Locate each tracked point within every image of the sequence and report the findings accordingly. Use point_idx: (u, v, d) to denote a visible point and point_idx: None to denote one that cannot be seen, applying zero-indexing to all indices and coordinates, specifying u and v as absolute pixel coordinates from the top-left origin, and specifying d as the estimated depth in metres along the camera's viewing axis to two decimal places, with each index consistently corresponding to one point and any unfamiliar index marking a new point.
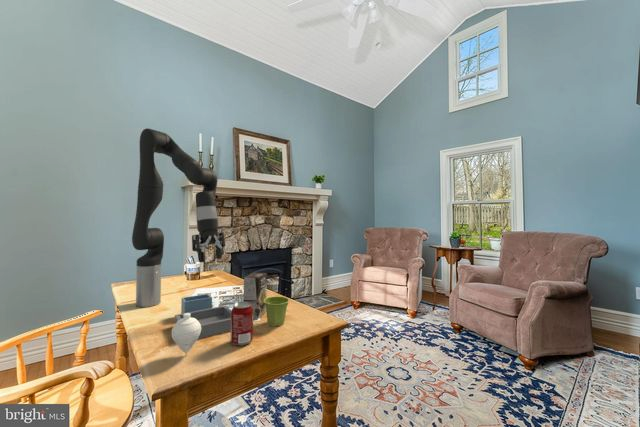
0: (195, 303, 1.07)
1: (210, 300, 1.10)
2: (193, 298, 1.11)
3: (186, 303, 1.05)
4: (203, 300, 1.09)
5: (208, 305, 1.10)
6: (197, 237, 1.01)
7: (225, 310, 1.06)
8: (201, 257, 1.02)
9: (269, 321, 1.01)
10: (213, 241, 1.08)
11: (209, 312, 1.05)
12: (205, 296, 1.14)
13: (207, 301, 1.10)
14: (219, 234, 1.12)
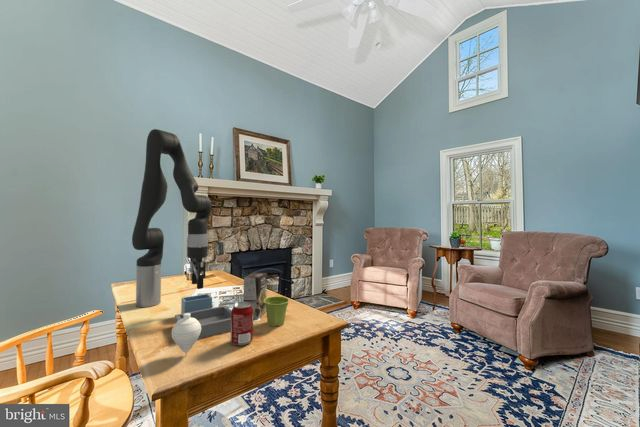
0: (195, 303, 1.07)
1: (210, 300, 1.10)
2: (193, 298, 1.11)
3: (186, 303, 1.05)
4: (203, 300, 1.09)
5: (208, 305, 1.10)
6: None
7: (225, 310, 1.06)
8: None
9: (269, 321, 1.01)
10: None
11: (209, 312, 1.05)
12: (205, 296, 1.14)
13: (207, 301, 1.10)
14: None
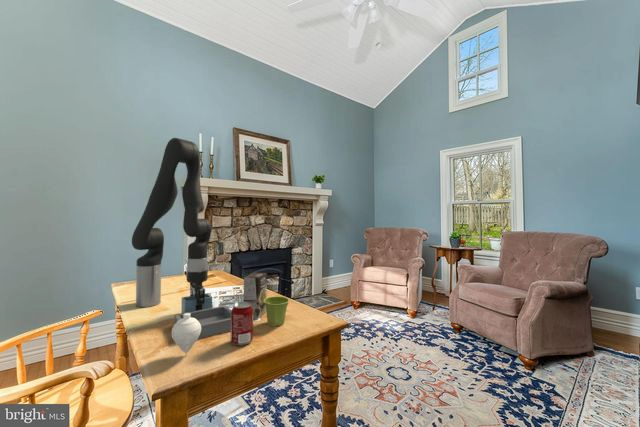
0: (195, 303, 1.07)
1: (210, 300, 1.10)
2: (193, 298, 1.12)
3: (186, 303, 1.05)
4: None
5: (208, 305, 1.10)
6: (204, 291, 1.06)
7: (225, 310, 1.06)
8: None
9: (269, 321, 1.01)
10: None
11: (209, 312, 1.05)
12: (205, 296, 1.14)
13: (207, 301, 1.10)
14: None
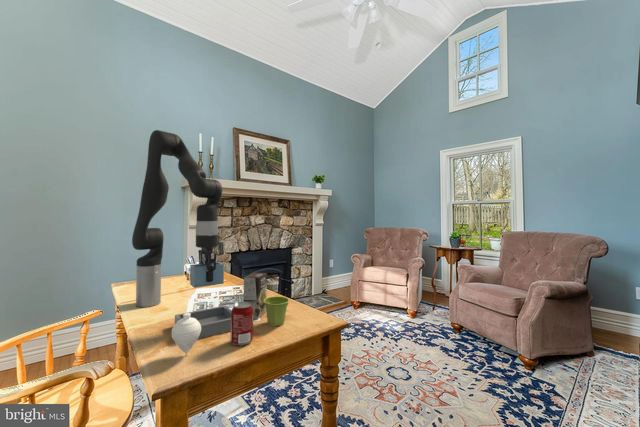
0: (205, 269, 0.97)
1: (221, 267, 1.01)
2: (203, 266, 1.02)
3: (196, 269, 0.95)
4: None
5: (219, 272, 1.00)
6: (215, 256, 0.96)
7: (225, 310, 1.06)
8: None
9: (269, 321, 1.01)
10: None
11: (209, 312, 1.05)
12: None
13: (218, 268, 1.00)
14: None
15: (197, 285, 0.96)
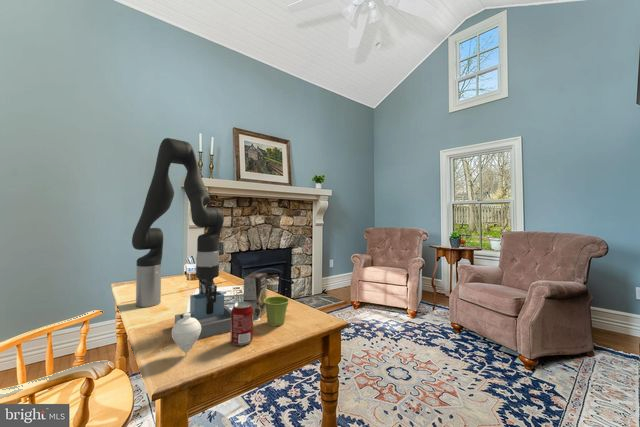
0: None
1: (222, 298, 0.99)
2: (203, 296, 1.00)
3: (196, 301, 0.93)
4: None
5: (220, 303, 0.98)
6: None
7: (225, 310, 1.06)
8: None
9: (269, 321, 1.01)
10: None
11: None
12: (216, 294, 1.03)
13: (219, 299, 0.98)
14: None
15: (197, 318, 0.94)
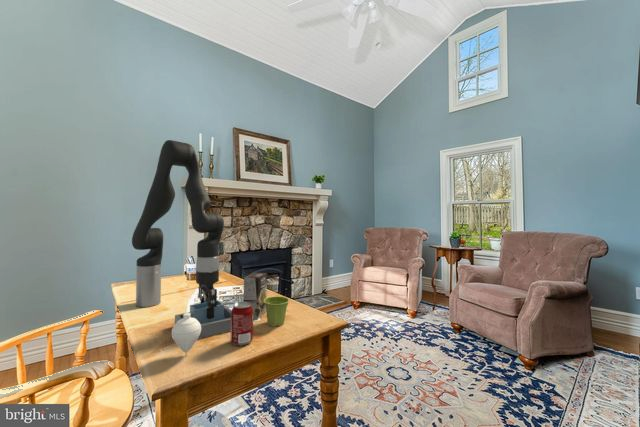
0: (206, 311, 0.95)
1: (222, 307, 0.99)
2: (203, 305, 1.00)
3: (196, 311, 0.93)
4: (214, 308, 0.97)
5: (220, 313, 0.98)
6: None
7: (225, 310, 1.06)
8: None
9: (269, 321, 1.01)
10: None
11: None
12: None
13: (219, 309, 0.98)
14: None
15: None
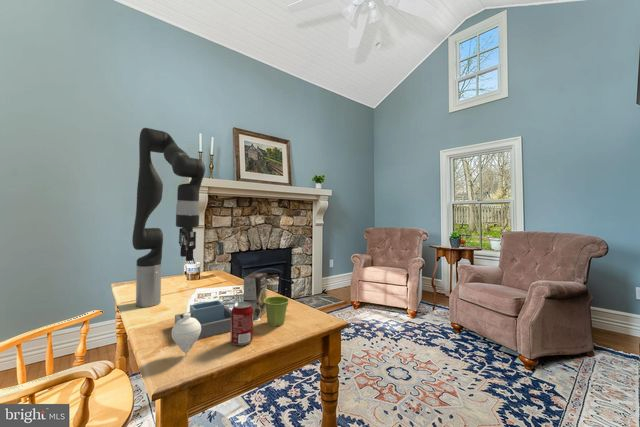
0: (206, 311, 0.95)
1: (222, 307, 0.99)
2: (203, 305, 1.00)
3: (196, 311, 0.93)
4: (214, 308, 0.97)
5: (220, 313, 0.98)
6: None
7: (225, 310, 1.06)
8: (192, 255, 0.96)
9: (269, 321, 1.01)
10: None
11: None
12: (216, 303, 1.03)
13: (219, 309, 0.98)
14: None
15: None
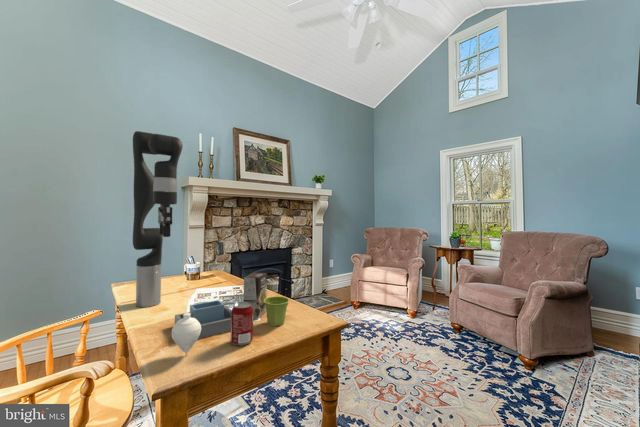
0: (206, 311, 0.95)
1: (222, 307, 0.99)
2: (203, 305, 1.00)
3: (196, 311, 0.93)
4: (214, 308, 0.97)
5: (220, 313, 0.98)
6: (171, 210, 0.96)
7: (225, 310, 1.06)
8: (169, 231, 0.97)
9: (269, 321, 1.01)
10: None
11: None
12: (216, 303, 1.03)
13: (219, 309, 0.98)
14: None
15: None
